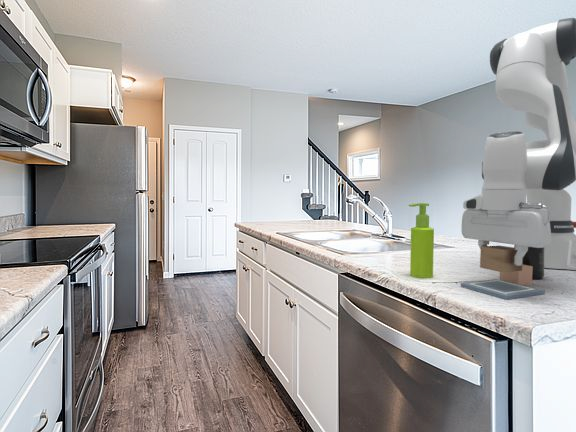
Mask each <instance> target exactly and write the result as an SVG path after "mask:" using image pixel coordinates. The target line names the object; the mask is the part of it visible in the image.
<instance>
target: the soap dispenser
mask: <svg viewBox="0 0 576 432" xmlns="http://www.w3.org/2000/svg"><path fill="white" fill-rule="evenodd" d="M408 206H409V207H412V208H413V207H417V206H419V207H418V210H419V211H418V212H419V213H418V214H417V215H415V227H414V226H413V227H411V228H410V263H409V264H410V268H409V269H410V272H409V273H410V277H413V278H417V279H418V278H419V279H429V278H430V279H431V278H433V277H434V250H435V249H434V244H435V243H434V239H435V238H434V237H435V233H434V230H435V229H434V228H433V227H430V215H428V214H427V207H428V206H430V204H429V203H423V202H415V203H410V204H408Z"/></svg>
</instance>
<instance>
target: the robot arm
mask: <svg viewBox="0 0 576 432" xmlns="http://www.w3.org/2000/svg"><path fill="white" fill-rule="evenodd" d="M575 58H576V18H575V17H569V18H568V17H567V18H563V19H562V18H561V19H559V20H558V21H555V22H550V23H546V24H541V25H537V26H535V27H532V28H530V29H529V30H526V31H523V32H519V33H517V34H515V35H514V34H513V36H511V37H509V38H504V39H502V40H501V41H499V42H497V43H496V44H494V46H493V47H492V49H491V50H490V53H489V66H490V69H491V71H492V73H493V74H494V75H495V96H496V97H497V99H498V101H499V102H500V103H501V104H503V105H504V106H506V107H508V108H509V109H512V110H514V111H515V110H516V111H521V112H524V115H525V121H526V123H527V124H528V126H530V127H532V128H534V129H538V130H540V131H542V132H543V133H544V134H545V136H546V138H547V139H544V140H537V141H535V140H534V141H528V142H527V139H526V133H524V132H522V131H518V130H517V131H504V132H498V133H497V132H496V133H491V134H490V135H489V136H487V137H486V140H485V144H484V150H483V157H482V162H481V178H482V180H483V184H482V187H481V194H479V195H477V196H474V197H471V198H468V199H466V200H464V201H463V203H462V205H463V206H462V207H463V209H464V211H463V213H462V216H461V234H462V237H463V238H464V239H469V240H475V241H476V240H477V244H478V247H479V249H480V250H481V247H483V246H490V242H491V243H499V244H505V245H506V244H507V245H512V246H514V245H515V250H518V251H517V253H516V255H515V256H514V257H511V265H516V266H520V265H522V257H524V255H525V254H526V252H527V251H528V247H535V248H543V247H544V269H556V270H557V269H558V270H571V271H576V234H575V233H574V232H575V229H576V221H573V220H571V219H572V218H571V216H572V196H571V195H570V193H569V192H568V191H567V190H566V188H568V187H569V186H571V184H573V183H575V182H576V120H575V118H574V116H573V112H572V109H571V99H570V90H569V79H568V75H567V74H568V73H567V69H566V67H567V66H569V65H570V63H571V60H573V59H575Z"/></svg>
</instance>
